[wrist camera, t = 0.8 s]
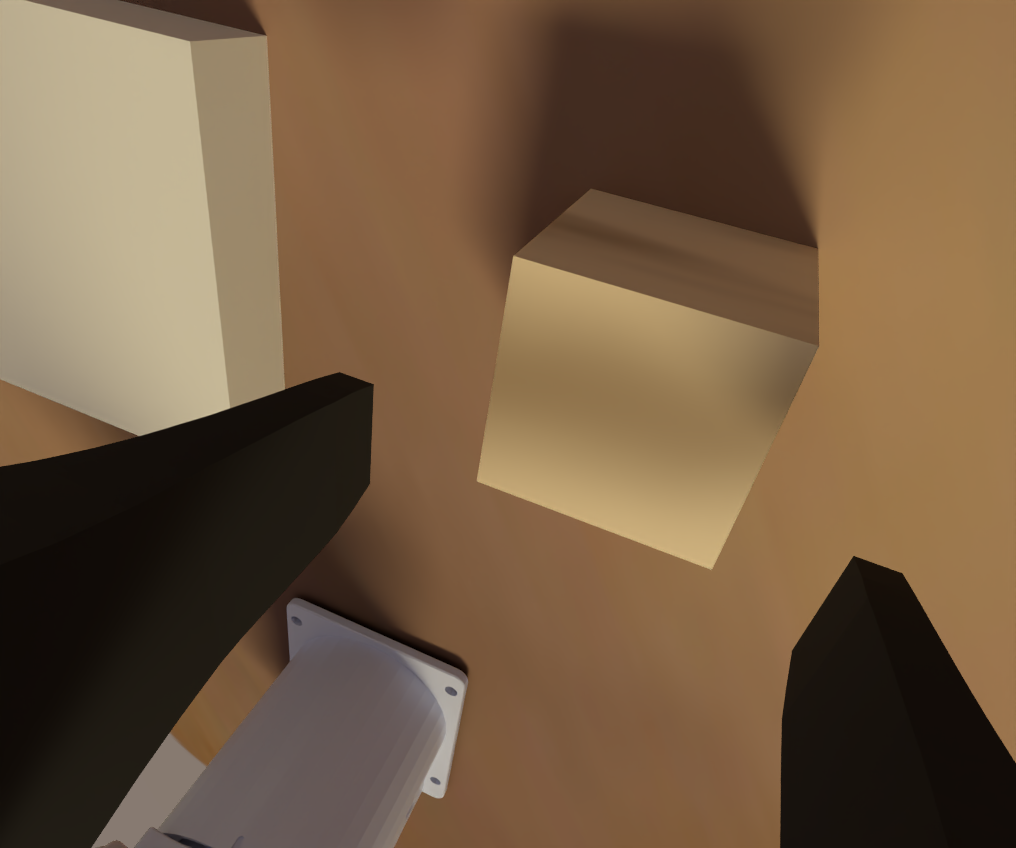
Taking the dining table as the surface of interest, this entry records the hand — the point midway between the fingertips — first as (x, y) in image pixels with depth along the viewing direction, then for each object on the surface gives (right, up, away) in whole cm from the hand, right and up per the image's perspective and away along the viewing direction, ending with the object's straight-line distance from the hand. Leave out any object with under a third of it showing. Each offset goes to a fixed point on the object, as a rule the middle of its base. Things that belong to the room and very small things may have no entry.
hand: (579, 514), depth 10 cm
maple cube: (+3, +4, +6) cm, 8 cm away
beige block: (-13, +8, +11) cm, 19 cm away
